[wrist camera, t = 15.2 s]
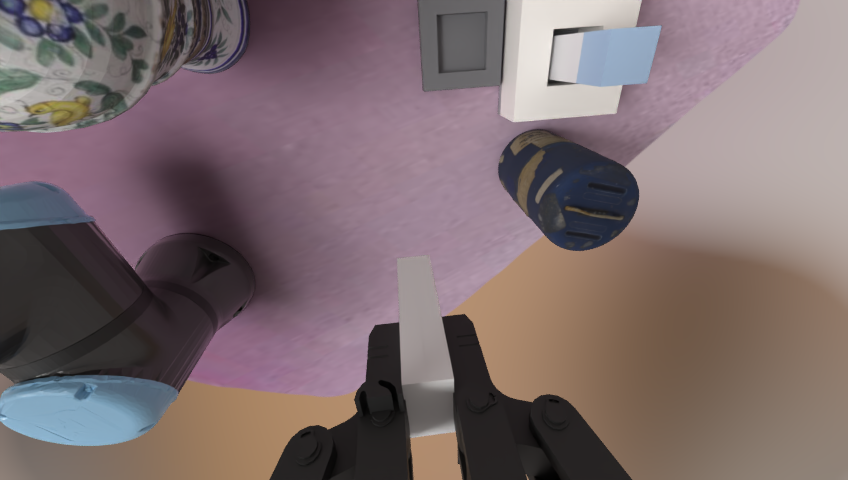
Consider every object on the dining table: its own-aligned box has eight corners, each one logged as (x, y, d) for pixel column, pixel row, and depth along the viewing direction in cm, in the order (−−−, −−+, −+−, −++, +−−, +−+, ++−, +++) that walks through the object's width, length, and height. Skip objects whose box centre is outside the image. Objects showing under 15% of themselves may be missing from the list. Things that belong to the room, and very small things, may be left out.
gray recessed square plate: (422, 89, 39) (424, 91, 37) (417, -2, 34) (418, -6, 33) (495, 84, 39) (500, 85, 38) (499, -8, 35) (505, -11, 33)
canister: (534, 203, 48) (603, 274, 33) (482, 178, 45) (530, 242, 30) (575, 145, 44) (675, 194, 29) (520, 114, 41) (598, 149, 26)
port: (497, 113, 41) (513, 122, 36) (503, -2, 35) (523, -12, 30) (587, 106, 42) (616, 113, 37) (608, -9, 36) (646, -20, 30)
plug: (534, 77, 38) (600, 86, 26) (537, 37, 36) (611, 29, 24) (566, 74, 39) (646, 83, 27) (571, 35, 37) (661, 25, 25)
